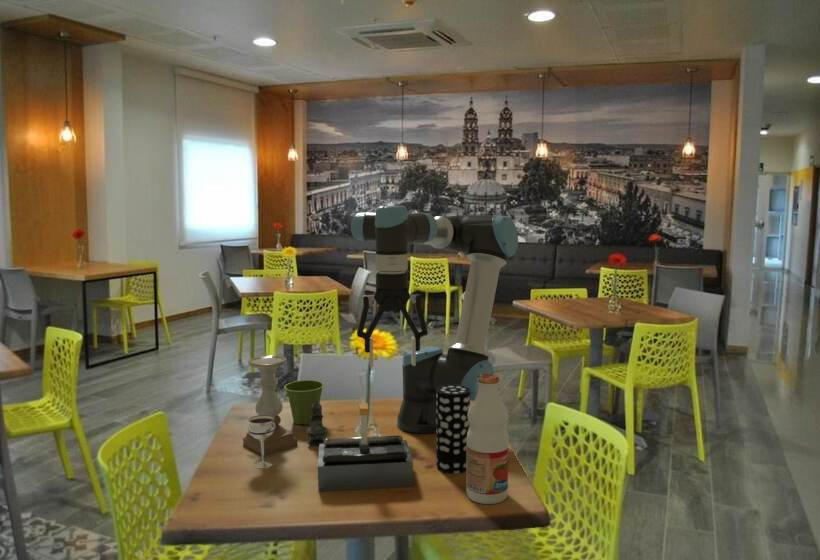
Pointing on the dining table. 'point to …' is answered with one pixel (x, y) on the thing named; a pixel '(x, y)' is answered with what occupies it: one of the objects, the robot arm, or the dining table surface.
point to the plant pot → (303, 399)
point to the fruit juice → (487, 444)
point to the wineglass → (261, 434)
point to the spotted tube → (452, 427)
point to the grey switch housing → (364, 464)
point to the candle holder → (269, 407)
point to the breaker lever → (364, 429)
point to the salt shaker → (316, 426)
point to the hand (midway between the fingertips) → (392, 364)
